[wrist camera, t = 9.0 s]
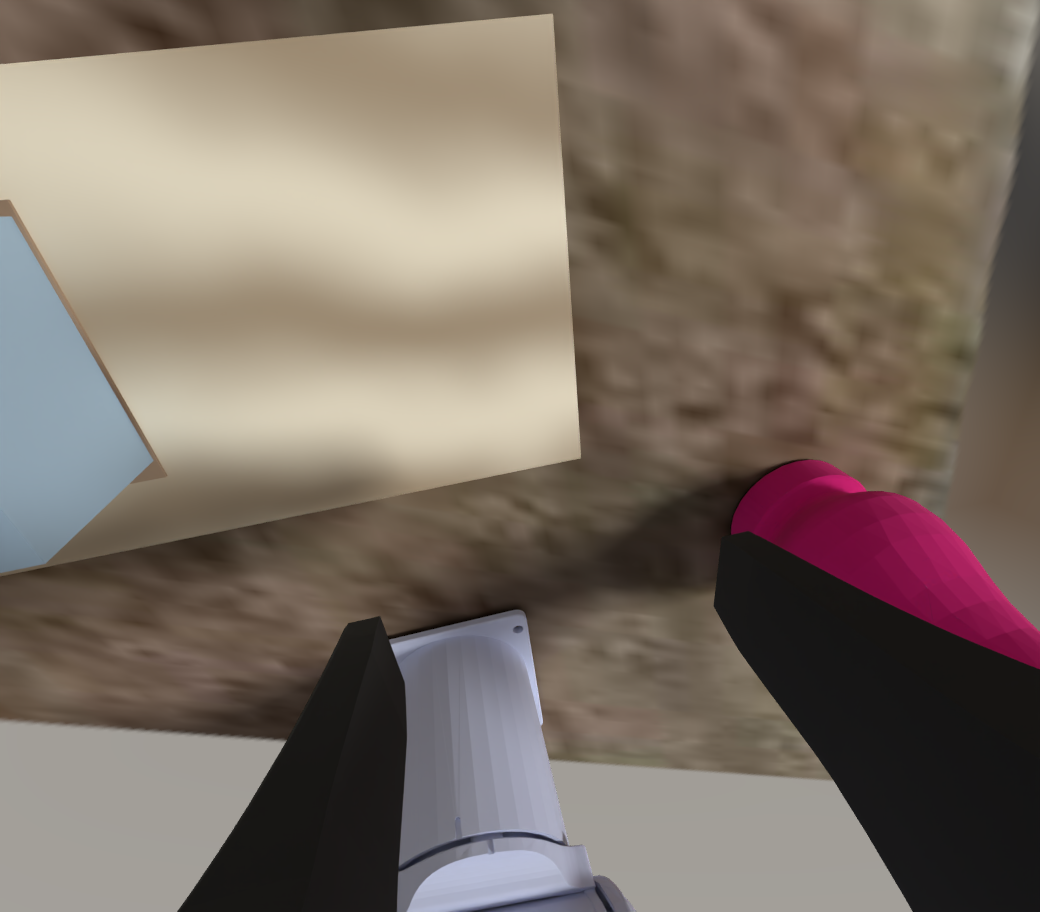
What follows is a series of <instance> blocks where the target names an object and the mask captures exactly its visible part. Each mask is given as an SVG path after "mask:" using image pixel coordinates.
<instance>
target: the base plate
mask: <svg viewBox="0 0 1040 912" xmlns="http://www.w3.org/2000/svg"><path fill="white" fill-rule="evenodd" d="M8 216H12V218H13V220H14V221H15V223H16V225H17V226H18V228H19V230H20V232H21V233H22V235H23V237H24V238H25V240H26V242H27V244H28V245H29V247H30V249H31V250H32V252H33V254H34V256H35V257H36V259H37V261H38V263H39V264H40V266H41V268H42V269H43V271H44V273H45V275H46V276H47V278H48V280H49V281H50V283H51V285H52V287H53V288H54V290H55V292H56V294H57V295H58V297H59V299H60V300H61V302H62V304H63V306H64V307H65V309H66V311H67V312H68V314H69V316H70V318H71V319H72V321H73V323H74V324H75V326H76V328H77V330H78V331H79V333H80V335H81V337H82V338H83V340H84V342H85V343H86V345H87V347H88V349H89V350H90V352H91V354H92V355H93V357H94V359H95V361H96V362H97V364H98V366H99V368H100V369H101V371H102V373H103V374H104V376H105V378H106V380H107V381H108V383H109V385H110V386H111V388H112V390H113V392H114V393H115V395H116V397H117V398H118V400H119V402H120V404H121V405H122V407H123V409H124V411H125V412H126V414H127V416H128V417H129V419H130V421H131V423H132V424H133V426H134V428H135V429H136V431H137V433H138V435H139V436H140V438H141V440H142V442H143V443H144V445H145V447H146V448H147V450H148V452H149V454H150V455H151V457H152V459H153V460H154V461H153V462H152V463H151V464H150V465H149V466H148V467H147V468H145V469H144V470H143V471H142V472H141V473H140V474H139V475H138V476H137V477H136V478H135V479H134V480H133V481H132V482H131V483H130V484H129V485H128V486H127V487H126V488H124V489H123V490H122V491H121V492H120V493H119V494H118V495H117V496H116V497H115V498H114V499H113V500H112V501H111V502H110V503H109V504H108V505H107V506H106V507H105V508H103V509H102V510H101V511H100V512H99V513H98V514H97V515H96V516H95V517H94V518H93V519H92V520H91V521H90V522H89V523H88V524H87V525H86V526H85V527H84V528H82V529H81V530H80V531H79V532H78V533H77V534H76V535H75V536H74V537H73V538H72V539H71V540H70V541H69V542H68V543H67V544H66V545H65V546H64V547H63V548H61V549H60V550H59V551H58V552H57V553H56V554H55V555H54V556H53V557H52V558H51V559H50V560H49V561H48V562H47V563H46V564H42V565H37V566H32V567H27V568H22V569H17V570H13V571H8V572H3V573H0V576H5V575H10V574H15V573H20V572H25V571H29V570H34V569H39V568H44V567H49V566H54V565H59V564H64V563H69V562H74V561H78V560H83V559H88V558H93V557H98V556H103V555H108V554H113V553H118V552H123V551H128V550H132V549H137V548H142V547H147V546H152V545H157V544H162V543H167V542H172V541H177V540H181V539H186V538H191V537H196V536H201V535H206V534H211V533H216V532H221V531H226V530H230V529H235V528H240V527H245V526H250V525H255V524H260V523H265V522H270V521H275V520H280V519H284V518H289V517H294V516H299V515H304V514H309V513H314V512H319V511H324V510H329V509H333V508H338V507H343V506H348V505H353V504H358V503H363V502H368V501H373V500H378V499H383V498H387V497H392V496H397V495H402V494H407V493H412V492H417V491H422V490H427V489H432V488H436V487H441V486H446V485H451V484H456V483H461V482H466V481H471V480H476V479H481V478H486V477H490V476H495V475H500V474H505V473H510V472H515V471H520V470H525V469H530V468H535V467H539V466H544V465H549V464H554V463H559V462H564V461H569V460H574V459H579V458H581V451H580V435H579V420H578V404H577V388H576V372H575V356H574V341H573V325H572V309H571V293H570V277H569V262H568V246H567V230H566V214H565V198H564V183H563V167H562V151H561V135H560V119H559V104H558V88H557V72H556V56H555V40H554V25H553V14H545V15H534V16H523V17H512V18H501V19H490V20H479V21H468V22H458V23H447V24H436V25H425V26H414V27H403V28H392V29H381V30H370V31H360V32H349V33H338V34H327V35H316V36H305V37H294V38H283V39H273V40H262V41H251V42H240V43H229V44H218V45H207V46H196V47H186V48H175V49H164V50H153V51H142V52H131V53H120V54H109V55H98V56H88V57H77V58H66V59H55V60H44V61H33V62H22V63H11V64H1V65H0V217H8Z"/></svg>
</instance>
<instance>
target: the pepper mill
mask: <svg viewBox="0 0 1040 912" xmlns="http://www.w3.org/2000/svg"><path fill="white" fill-rule="evenodd" d="M745 531H749V532H752V533H754V534H756V535H758V536H760V537H762V538H764V539H766V540H768V541H769V542H771V543H773V544H775V545H777V546H779V547H781V548H783V549H785V550H786V551H788V552H790V553H792V554H794V555H796V556H798V557H800V558H801V559H803V560H805V561H807V562H809V563H811V564H813V565H815V566H816V567H818V568H820V569H822V570H824V571H826V572H828V573H830V574H832V575H833V576H835V577H837V578H839V579H841V580H843V581H845V582H847V583H849V584H851V585H853V586H855V587H857V588H858V589H860V590H862V591H864V592H866V593H868V594H870V595H872V596H874V597H876V598H878V599H880V600H882V601H884V602H886V603H888V604H891V605H893V606H895V607H897V608H899V609H901V610H903V611H905V612H907V613H909V614H912V615H914V616H916V617H918V618H920V619H922V620H924V621H927V622H929V623H931V624H933V625H935V626H937V627H939V628H942V629H944V630H946V631H948V632H951V633H953V634H955V635H957V636H960V637H962V638H964V639H967V640H969V641H971V642H974V643H976V644H979V645H981V646H984V647H986V648H988V649H991V650H993V651H996V652H998V653H1001V654H1003V655H1005V656H1008V657H1010V658H1013V659H1015V660H1018V661H1020V662H1022V663H1025V664H1028V665H1030V666H1033V667H1035V668H1038V669H1040V632H1039V631H1038V630H1037V629H1036V628H1035V627H1034V626H1033V625H1032V624H1031V623H1030V622H1029V621H1028V620H1027V619H1026V618H1025V617H1024V616H1023V615H1022V614H1021V613H1020V612H1019V611H1018V610H1017V609H1016V608H1015V607H1014V606H1013V605H1012V604H1011V603H1010V602H1009V601H1008V600H1007V598H1006V597H1005V596H1004V595H1003V593H1002V592H1001V591H1000V590H999V588H998V587H997V586H996V585H995V583H994V582H993V581H992V579H991V578H990V577H989V576H988V574H987V573H986V571H985V570H984V568H983V567H982V565H981V564H980V563H979V561H978V560H977V559H976V557H975V556H974V554H973V553H972V552H971V550H970V549H969V548H968V546H967V545H966V544H965V543H964V541H963V540H962V539H961V538H960V537H959V536H958V535H957V534H956V533H955V532H954V531H952V529H951V528H950V527H949V526H948V525H947V524H946V523H945V522H944V521H943V520H942V519H940V518H939V517H938V516H936V515H935V514H933V513H932V512H930V511H929V510H927V509H926V508H924V507H923V506H921V505H920V504H919V503H917V502H916V501H914V500H912V499H909V498H907V497H905V496H902V495H899V494H896V493H890V492H884V491H866V489H865V488H864V487H863V486H862V484H861V483H860V482H858V481H857V480H855V479H854V478H852V477H850V476H849V475H847V474H846V473H844V472H842V471H841V470H839V469H838V468H836V467H834V466H833V465H831V464H829V463H826V462H823V461H818V460H804V461H796V462H793V463H790V464H787V465H784V466H781V467H779V468H778V469H776V470H774V471H772V472H770V473H769V474H767V475H765V476H764V477H763V478H762V479H760V480H759V481H758V482H757V483H756V484H755V485H754V486H752V487H751V489H750V490H749V491H748V492H747V493H746V495H745V496H744V497H743V498H742V500H741V502H740V503H739V505H738V507H737V509H736V511H735V513H734V516H733V520H732V525H731V535H732V534H737V533H741V532H745Z"/></svg>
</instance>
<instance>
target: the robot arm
mask: <svg viewBox="0 0 1040 912" xmlns="http://www.w3.org/2000/svg"><path fill="white" fill-rule="evenodd" d="M714 607H715V609H716V611H717V613H718V615H719V617H720V618H721V620H722V622H723V624H724V626H725V627H726V629H727V631H728V633H729V634H730V636H731V638H732V639H733V641H734V643H735V645H736V646H737V648H738V650H739V651H740V652H741V654H742V655H743V657H744V658H745V659H746V661H747V662H748V664H749V665H750V666H751V668H752V669H753V670H754V672H755V673H756V675H757V676H758V677H759V679H760V680H761V681H762V683H763V684H764V685H765V687H766V688H767V689H768V691H769V692H770V694H771V695H772V696H773V698H774V699H775V700H776V702H777V703H778V704H779V706H780V707H781V708H782V710H783V711H784V712H785V714H786V715H787V716H788V718H789V719H790V720H791V722H792V723H793V724H794V726H795V727H796V728H797V730H798V731H799V733H800V734H801V735H802V737H803V738H804V739H805V741H806V742H807V743H808V745H809V746H810V747H811V749H812V750H813V751H814V753H815V754H816V756H817V757H818V758H819V760H820V761H821V763H822V764H823V766H824V767H825V769H826V770H827V771H828V773H829V774H830V776H831V777H832V779H833V780H834V782H835V783H836V785H837V787H838V788H839V790H840V791H841V793H842V795H843V796H844V798H845V799H846V801H847V803H848V804H849V806H850V807H851V809H852V811H853V812H854V814H855V816H856V817H857V819H858V820H859V822H860V824H861V825H862V827H863V828H864V830H865V831H866V833H867V835H868V837H869V838H870V840H871V842H872V843H873V845H874V846H875V848H876V850H877V852H878V853H879V855H880V857H881V858H882V860H883V862H884V863H885V865H886V867H887V869H888V870H889V872H890V874H891V875H892V877H893V879H894V880H895V882H896V884H897V885H898V887H899V889H900V890H901V892H902V894H903V895H904V897H905V899H906V901H907V902H908V904H909V906H910V908H911V909H912V911H913V912H1040V669H1038V668H1035V667H1033V666H1030V665H1028V664H1025V663H1022V662H1020V661H1018V660H1015V659H1013V658H1010V657H1008V656H1005V655H1003V654H1001V653H998V652H996V651H993V650H991V649H988V648H986V647H984V646H981V645H979V644H976V643H974V642H971V641H969V640H967V639H964V638H962V637H960V636H957V635H955V634H953V633H951V632H948V631H946V630H944V629H942V628H939V627H937V626H935V625H933V624H931V623H929V622H927V621H924V620H922V619H920V618H918V617H916V616H914V615H912V614H909V613H907V612H905V611H903V610H901V609H899V608H897V607H895V606H893V605H891V604H888V603H886V602H884V601H882V600H880V599H878V598H876V597H874V596H872V595H870V594H868V593H866V592H864V591H862V590H860V589H858V588H857V587H855V586H853V585H851V584H849V583H847V582H845V581H843V580H841V579H839V578H837V577H835V576H833V575H832V574H830V573H828V572H826V571H824V570H822V569H820V568H818V567H816V566H815V565H813V564H811V563H809V562H807V561H805V560H803V559H801V558H800V557H798V556H796V555H794V554H792V553H790V552H788V551H786V550H785V549H783V548H781V547H779V546H777V545H775V544H773V543H771V542H769V541H768V540H766V539H764V538H762V537H760V536H758V535H756V534H754V533H752V532H749V531H745V532H741V533H737V534H732V535H728V536H724V537H722V538H721V547H720V556H719V564H718V573H717V581H716V590H715V598H714ZM516 626H518V627H516ZM542 724H543V719H542V713H541V707H540V701H539V694H538V688H537V682H536V675H535V669H534V663H533V657H532V650H531V644H530V638H529V632H528V625H527V619H526V615H525V613H524V612H523V611H522V610H512V611H507V612H503V613H499V614H495V615H491V616H486V617H482V618H478V619H474V620H470V621H465V622H461V623H457V624H453V625H449V626H444V627H440V628H436V629H432V630H428V631H423V632H419V633H415V634H411V635H407V636H402V637H398V638H394V639H390V640H389V639H388V636H387V634H386V631H385V628H384V626H383V623H382V620H381V618H380V616H379V617H374V618H370V619H366V620H361V621H357V622H353V623H348V625H347V626H346V627H345V629H344V631H343V633H342V635H341V637H340V639H339V641H338V643H337V645H336V647H335V649H334V651H333V653H332V655H331V657H330V659H329V662H328V664H327V666H326V668H325V670H324V672H323V674H322V676H321V677H320V679H319V681H318V683H317V685H316V687H315V689H314V691H313V693H312V695H311V697H310V699H309V701H308V702H307V704H306V706H305V708H304V710H303V712H302V713H301V715H300V717H299V719H298V721H297V723H296V725H295V726H294V728H293V730H292V732H291V734H290V736H289V737H288V739H287V741H286V743H285V745H284V746H283V748H282V750H281V752H280V753H279V755H278V757H277V758H276V760H275V762H274V763H273V765H272V767H271V769H270V770H269V772H268V773H267V775H266V777H265V778H264V780H263V782H262V784H261V785H260V787H259V788H258V790H257V792H256V794H255V795H254V797H253V799H252V800H251V802H250V804H249V806H248V807H247V808H246V810H245V812H244V813H243V815H242V816H241V818H240V820H239V821H238V823H237V825H236V826H235V827H234V829H233V831H232V832H231V834H230V835H229V837H228V838H227V840H226V841H225V843H224V844H223V846H222V847H221V849H220V850H219V852H218V854H217V855H216V856H215V858H214V859H213V861H212V862H211V864H210V865H209V867H208V868H207V870H206V871H205V873H204V874H203V876H202V877H201V879H200V880H199V882H198V883H197V884H196V886H195V887H194V889H193V891H192V892H191V893H190V895H189V896H188V897H187V899H186V900H185V902H184V903H183V904H182V906H181V907H180V909H179V910H178V911H177V912H636V910H635V909H634V907H633V906H632V904H631V903H630V902H629V901H628V900H627V899H626V898H625V897H624V895H623V894H622V892H621V891H620V890H619V888H618V887H617V886H616V885H615V884H614V883H613V882H612V881H611V880H610V879H609V878H607V877H604V876H600V875H598V876H593V874H592V870H591V867H590V863H589V859H588V855H587V851H586V848H585V846H584V845H576V846H569V842H568V838H567V834H566V830H565V826H564V821H563V817H562V813H561V809H560V806H559V801H558V796H557V792H556V788H555V784H554V780H553V776H552V771H551V767H550V763H549V759H548V755H547V750H546V746H545V742H544V738H543V734H542V730H541V725H542Z"/></svg>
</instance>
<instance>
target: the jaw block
mask: <svg viewBox="0 0 1040 912" xmlns="http://www.w3.org/2000/svg"><path fill="white" fill-rule="evenodd" d="M153 461H154V460H153V459H152V457H151V455H150V454H149V452H148V450H147V448H146V447H145V445H144V443H143V442H142V440H141V438H140V436H139V435H138V433H137V431H136V429H135V428H134V426H133V424H132V423H131V421H130V419H129V417H128V416H127V414H126V412H125V411H124V409H123V407H122V405H121V404H120V402H119V400H118V398H117V397H116V395H115V393H114V392H113V390H112V388H111V386H110V385H109V383H108V381H107V380H106V378H105V376H104V374H103V373H102V371H101V369H100V368H99V366H98V364H97V362H96V361H95V359H94V357H93V355H92V354H91V352H90V350H89V349H88V347H87V345H86V343H85V342H84V340H83V338H82V337H81V335H80V333H79V331H78V330H77V328H76V326H75V324H74V323H73V321H72V319H71V318H70V316H69V314H68V312H67V311H66V309H65V307H64V306H63V304H62V302H61V300H60V299H59V297H58V295H57V294H56V292H55V290H54V288H53V287H52V285H51V283H50V281H49V280H48V278H47V276H46V275H45V273H44V271H43V269H42V268H41V266H40V264H39V263H38V261H37V259H36V257H35V256H34V254H33V252H32V250H31V249H30V247H29V245H28V244H27V242H26V240H25V238H24V237H23V235H22V233H21V232H20V230H19V228H18V226H17V225H16V223H15V221H14V220H13V218H12V216H8V217H0V573H3V572H8V571H13V570H17V569H22V568H27V567H32V566H37V565H42V564H46V563H47V562H48V561H49V560H50V559H51V558H52V557H53V556H54V555H55V554H56V553H57V552H58V551H59V550H60V549H61V548H63V547H64V546H65V545H66V544H67V543H68V542H69V541H70V540H71V539H72V538H73V537H74V536H75V535H76V534H77V533H78V532H79V531H80V530H81V529H82V528H84V527H85V526H86V525H87V524H88V523H89V522H90V521H91V520H92V519H93V518H94V517H95V516H96V515H97V514H98V513H99V512H100V511H101V510H102V509H103V508H105V507H106V506H107V505H108V504H109V503H110V502H111V501H112V500H113V499H114V498H115V497H116V496H117V495H118V494H119V493H120V492H121V491H122V490H123V489H124V488H126V487H127V486H128V485H129V484H130V483H131V482H132V481H133V480H134V479H135V478H136V477H137V476H138V475H139V474H140V473H141V472H142V471H143V470H144V469H145V468H147V467H148V466H149V465H150V464H151V463H152V462H153Z"/></svg>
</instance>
